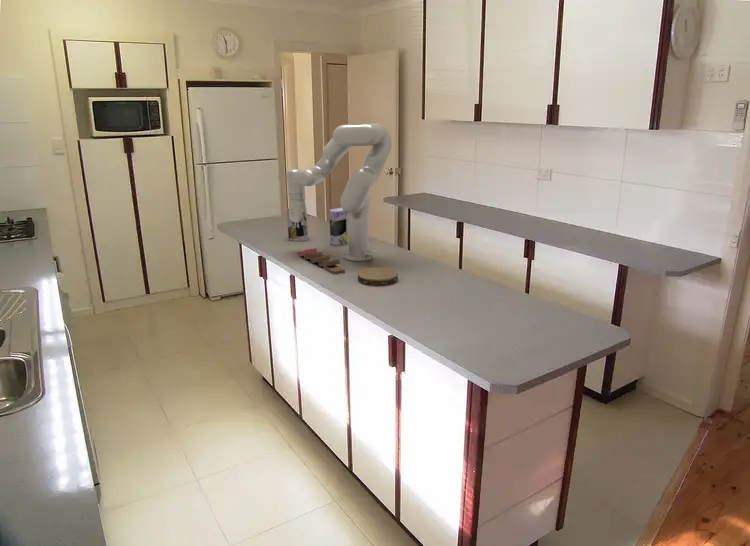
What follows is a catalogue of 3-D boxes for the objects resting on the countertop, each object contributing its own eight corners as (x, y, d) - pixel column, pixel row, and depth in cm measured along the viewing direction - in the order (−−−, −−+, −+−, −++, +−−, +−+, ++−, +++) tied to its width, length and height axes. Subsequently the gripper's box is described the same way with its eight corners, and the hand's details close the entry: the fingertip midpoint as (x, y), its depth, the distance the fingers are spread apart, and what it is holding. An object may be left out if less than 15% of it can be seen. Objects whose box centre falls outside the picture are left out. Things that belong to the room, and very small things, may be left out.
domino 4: (323, 266, 229) (334, 271, 222) (333, 264, 232) (344, 269, 225) (323, 270, 230) (334, 276, 223) (334, 268, 232) (344, 274, 225)
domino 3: (318, 261, 233) (329, 260, 226) (328, 260, 236) (339, 258, 229) (319, 266, 233) (330, 265, 226) (328, 264, 236) (340, 263, 229)
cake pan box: (334, 246, 265) (333, 210, 260) (327, 244, 269) (326, 209, 264) (364, 239, 278) (363, 205, 272) (357, 238, 281) (357, 204, 276)
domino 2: (310, 258, 238) (319, 256, 231) (320, 256, 241) (329, 255, 233) (310, 263, 238) (319, 261, 231) (321, 261, 241) (330, 259, 233)
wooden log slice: (351, 284, 212) (351, 277, 211) (366, 272, 226) (366, 265, 225) (390, 288, 207) (390, 281, 206) (402, 276, 221) (402, 269, 220)
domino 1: (303, 255, 244) (311, 253, 236) (313, 253, 246) (322, 251, 238) (304, 259, 244) (312, 257, 236) (314, 257, 246) (322, 256, 238)
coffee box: (308, 238, 281) (307, 207, 276) (305, 241, 275) (304, 209, 270) (291, 237, 282) (289, 207, 277) (288, 240, 276) (286, 209, 271)
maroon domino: (298, 252, 248) (306, 249, 241) (308, 250, 251) (316, 248, 243) (299, 256, 248) (306, 254, 241) (309, 254, 251) (317, 252, 243)
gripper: (282, 195, 250) (286, 234, 255) (296, 199, 238) (299, 240, 243) (297, 193, 254) (300, 232, 259) (311, 197, 241) (314, 237, 247)
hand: (300, 235), depth 251 cm, fingers closed
